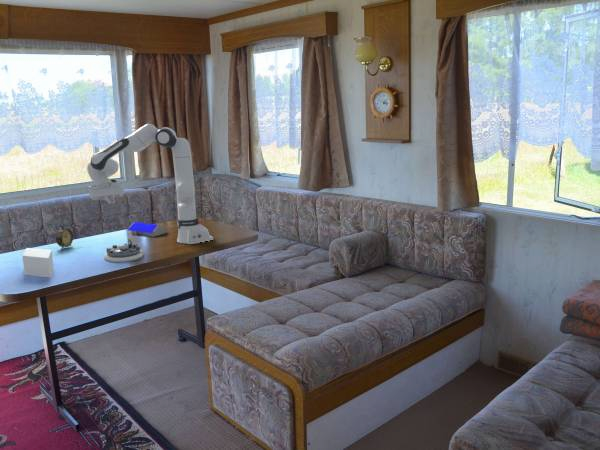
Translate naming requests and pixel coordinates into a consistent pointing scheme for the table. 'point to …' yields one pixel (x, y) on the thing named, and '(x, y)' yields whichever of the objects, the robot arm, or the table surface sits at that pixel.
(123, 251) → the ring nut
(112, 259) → the base plate
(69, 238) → the alarm clock
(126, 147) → the robot arm
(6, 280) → the table surface
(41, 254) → the white box
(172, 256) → the table surface
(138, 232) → the blue screen device
